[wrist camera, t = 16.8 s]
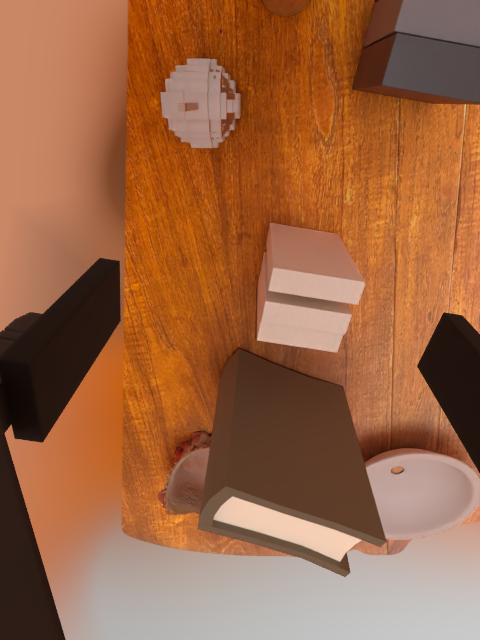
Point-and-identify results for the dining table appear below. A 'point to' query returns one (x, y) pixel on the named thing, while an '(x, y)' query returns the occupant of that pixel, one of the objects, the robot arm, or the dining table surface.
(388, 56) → the grey books
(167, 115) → the pale rounded piece
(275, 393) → the book
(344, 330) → the white books
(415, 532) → the soup bowl
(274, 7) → the vase
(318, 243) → the white book
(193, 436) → the seashell
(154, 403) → the dining table surface
